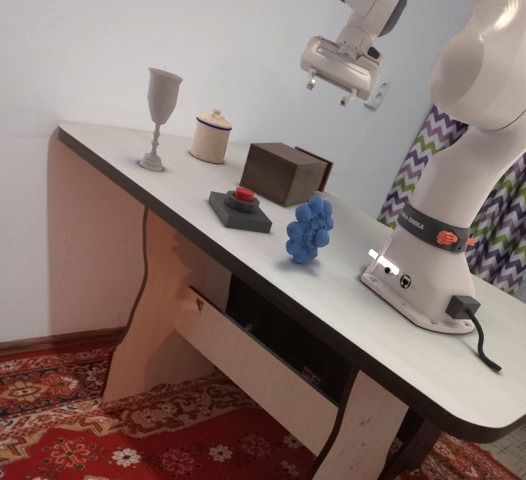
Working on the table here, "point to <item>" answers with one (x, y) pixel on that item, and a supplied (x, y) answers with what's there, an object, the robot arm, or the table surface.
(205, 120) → the lidded canister
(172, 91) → the chalice
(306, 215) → the grapes
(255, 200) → the control block
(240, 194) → the button
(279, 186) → the cabinet
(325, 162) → the drawer
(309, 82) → the robot arm
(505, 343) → the table surface
